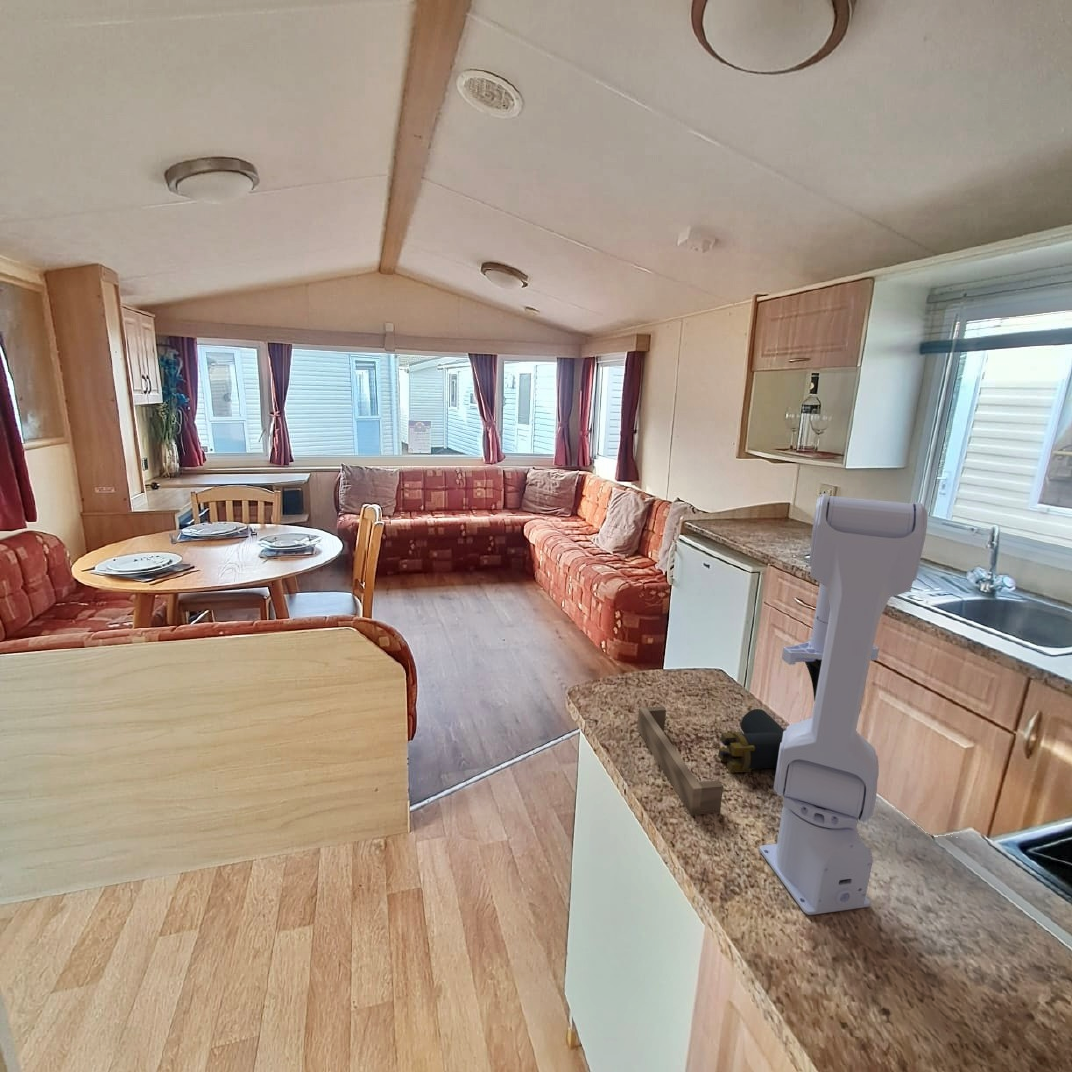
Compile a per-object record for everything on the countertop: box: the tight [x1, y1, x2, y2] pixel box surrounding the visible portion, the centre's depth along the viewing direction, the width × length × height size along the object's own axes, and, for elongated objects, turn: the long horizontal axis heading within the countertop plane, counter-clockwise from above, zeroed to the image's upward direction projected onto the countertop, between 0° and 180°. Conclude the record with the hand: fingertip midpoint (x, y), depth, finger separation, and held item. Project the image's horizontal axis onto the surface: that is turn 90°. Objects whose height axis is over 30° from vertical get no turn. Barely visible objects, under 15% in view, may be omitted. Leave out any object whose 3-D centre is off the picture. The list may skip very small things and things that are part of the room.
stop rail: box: [636, 705, 724, 816], centre depth 85 cm, size 20×4×4 cm, turn 10°
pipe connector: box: [717, 708, 786, 774], centre depth 87 cm, size 12×5×15 cm
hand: (822, 704), depth 87 cm, fingers closed
